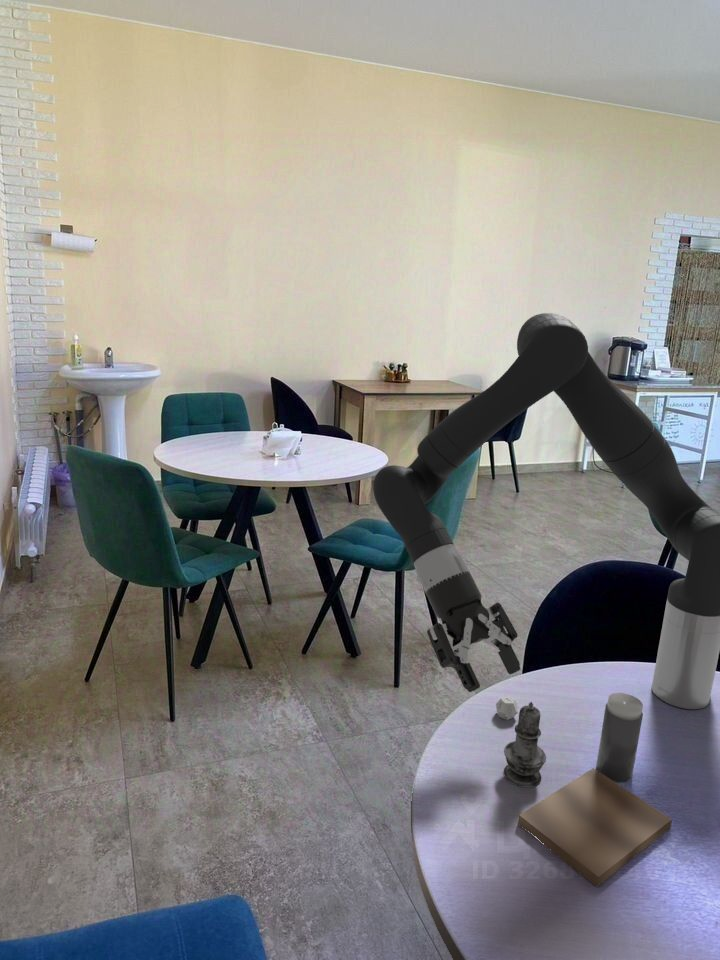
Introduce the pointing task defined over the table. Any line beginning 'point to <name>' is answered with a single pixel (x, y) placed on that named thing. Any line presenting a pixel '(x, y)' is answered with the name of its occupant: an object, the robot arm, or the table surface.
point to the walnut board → (595, 825)
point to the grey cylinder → (619, 737)
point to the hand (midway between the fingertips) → (495, 681)
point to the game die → (507, 707)
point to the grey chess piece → (525, 750)
